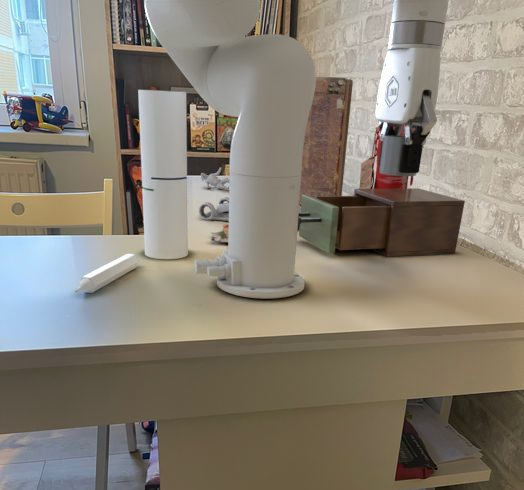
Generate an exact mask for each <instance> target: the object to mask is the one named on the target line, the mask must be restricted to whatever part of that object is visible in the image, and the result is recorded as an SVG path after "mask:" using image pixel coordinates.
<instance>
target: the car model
mask: <svg viewBox="0 0 524 490" xmlns="http://www.w3.org/2000/svg"><path fill="white" fill-rule="evenodd" d="M206 207H207V208H208V209H209V210H210V211H207V212H206V213H205V208H206ZM299 213H301V206H299ZM198 214H199V216H200V217H201V218H202V219H203V220H205V221H212V220H213V221H224V222H225V221H226V222H229V197H227V196H225V197H222V198H221V199H220V200H219V202H218V204H217V205H216V208H215V206H214V204H213V203H211V202H208V201H207V202H203V203H202V204H200V206H199V207H198Z"/></svg>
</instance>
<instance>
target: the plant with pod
mask: <svg viewBox="0 0 524 490" xmlns="http://www.w3.org/2000/svg"><path fill="white" fill-rule="evenodd" d="M234 132H235V129H233V128H232V127H230V126H227V127H226V128H225V129H224V131H223V133H222V134H221V136H220V138H219V143H220V145H219V146H218V148H217V149H216V150H217V152H220V151H221V149H224V150H225V149H227V150H229V151H230V150H231V143H232V139H233V135H234ZM222 228H223V229H222V230H219V231H216V232H211V233H210V234H211V241H213V242H217V243H228V236H229V223H223V225H222Z"/></svg>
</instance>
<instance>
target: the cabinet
mask: <svg viewBox="0 0 524 490" xmlns="http://www.w3.org/2000/svg"><path fill="white" fill-rule="evenodd" d="M353 196H365V197H368V198H371V199H374V200H376V201H379V202H382V203H385V204H388V205H391V211H390V219H389V226H388V233H387V241H386V248H378V249H371V250H372V251H374V252H377V253H378V254H381V255H383V256H385V257H386V258H387V257H388V258H390V257H407V256H427V255H430V256H431V255H450V254H451V255H452V254H456V251H457V246H458V239H459V234H460V229H461V224H462V219H463V213H464V210H465V209H464V208H465V203H466V201H465V200H464V199H459V198H456V197H452V196H448V195H444V194H441V193H437V192H433V191H430V190H428V189H427V190H426V189H423V188H417V187H415V188H414V187H413V188H407V189H359V188H354V190H353Z"/></svg>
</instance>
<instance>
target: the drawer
mask: <svg viewBox="0 0 524 490" xmlns="http://www.w3.org/2000/svg"><path fill="white" fill-rule="evenodd" d="M300 208H301V213H299V215H298V226H299V227H298V229H299V230H298V237H300V238H301V239H303V240H305V241H307V242H309V243H310V244H312V245H313V246H316V247H317V248H319V249H320V250H322V251H324V252H325V253H327V254H335V253H336V249H337V250H339V251H350V250H351V251H353V250H355V251H356V250H372V249H378V248H386V241H387V233H388V226H389V219H390V211H391V205H388V204H385V203H382V202H379V201H376V200H374V199H371V198H368V197H365V196H354V195H342V196H315V197H312V196H310V195H307V194H304V195H302V200H301V206H300Z"/></svg>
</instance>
